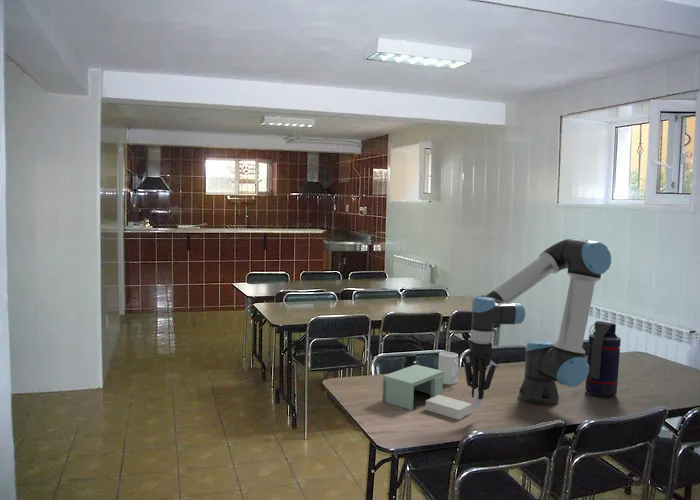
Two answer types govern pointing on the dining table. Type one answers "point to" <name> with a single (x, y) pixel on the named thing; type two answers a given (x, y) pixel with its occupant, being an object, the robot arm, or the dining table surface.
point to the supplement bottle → (409, 360)
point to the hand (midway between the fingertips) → (476, 407)
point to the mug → (448, 367)
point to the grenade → (603, 360)
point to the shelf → (411, 385)
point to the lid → (448, 407)
